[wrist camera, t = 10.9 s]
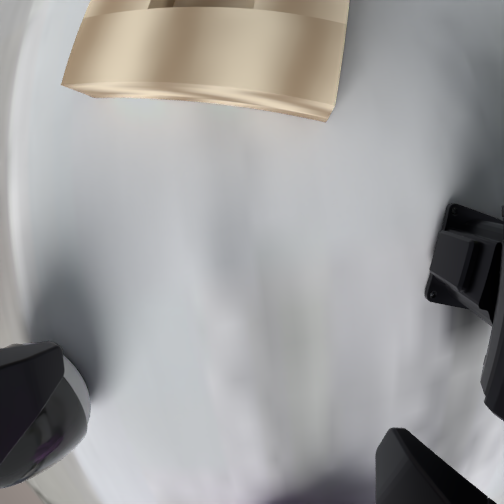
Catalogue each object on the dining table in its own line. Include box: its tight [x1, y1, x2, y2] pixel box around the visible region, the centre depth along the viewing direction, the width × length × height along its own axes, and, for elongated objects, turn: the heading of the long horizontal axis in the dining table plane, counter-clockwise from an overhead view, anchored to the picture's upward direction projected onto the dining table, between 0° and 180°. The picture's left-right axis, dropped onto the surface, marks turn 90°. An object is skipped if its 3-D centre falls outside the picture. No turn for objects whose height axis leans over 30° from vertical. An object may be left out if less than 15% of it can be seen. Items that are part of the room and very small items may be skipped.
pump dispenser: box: [0, 343, 91, 488], centre depth 16 cm, size 10×10×15 cm
